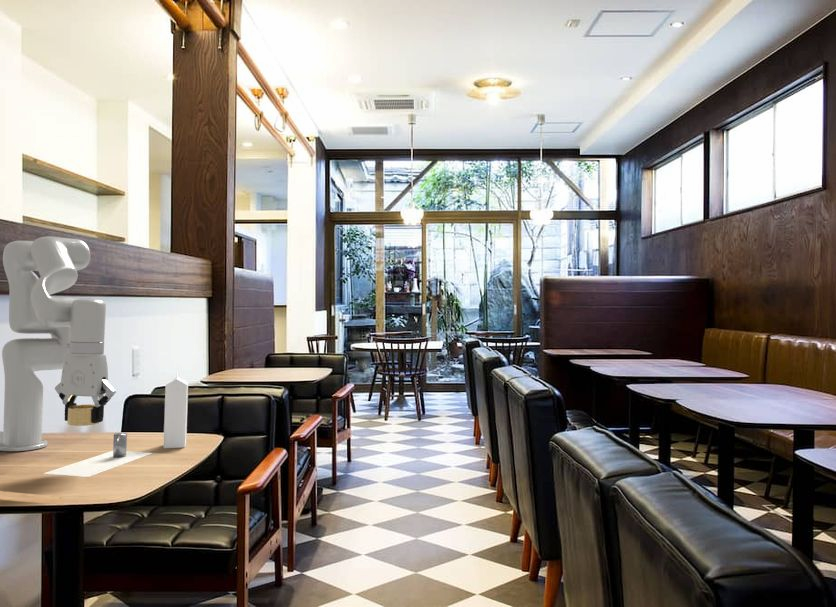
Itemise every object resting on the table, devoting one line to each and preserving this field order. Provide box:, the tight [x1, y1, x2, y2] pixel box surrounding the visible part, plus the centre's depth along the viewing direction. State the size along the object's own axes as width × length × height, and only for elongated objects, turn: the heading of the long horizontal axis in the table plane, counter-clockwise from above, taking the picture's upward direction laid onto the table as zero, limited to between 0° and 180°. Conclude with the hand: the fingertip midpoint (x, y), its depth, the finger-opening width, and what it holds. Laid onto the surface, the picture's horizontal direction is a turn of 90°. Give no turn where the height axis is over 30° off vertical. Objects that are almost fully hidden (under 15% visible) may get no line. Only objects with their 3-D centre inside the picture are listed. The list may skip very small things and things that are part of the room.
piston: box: [112, 432, 128, 458], centre depth 167 cm, size 3×3×6 cm
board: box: [42, 450, 153, 478], centre depth 160 cm, size 12×26×2 cm, turn 170°
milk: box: [163, 372, 189, 449], centre depth 188 cm, size 6×6×22 cm
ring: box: [67, 403, 100, 427], centre depth 154 cm, size 7×7×4 cm
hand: (83, 420), depth 154 cm, fingers closed on ring, 6 cm apart
